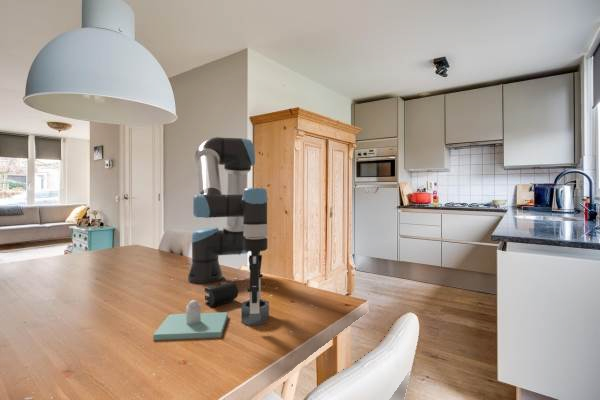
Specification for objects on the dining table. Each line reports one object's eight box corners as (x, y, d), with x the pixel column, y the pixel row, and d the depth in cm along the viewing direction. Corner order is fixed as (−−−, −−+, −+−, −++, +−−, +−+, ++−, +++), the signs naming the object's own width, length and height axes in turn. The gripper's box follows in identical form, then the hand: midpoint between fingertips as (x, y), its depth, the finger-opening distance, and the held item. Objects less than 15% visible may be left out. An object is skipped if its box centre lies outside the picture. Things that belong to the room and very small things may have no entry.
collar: (243, 314, 102) (243, 299, 101) (269, 313, 102) (268, 298, 102) (240, 325, 93) (240, 309, 93) (268, 324, 94) (268, 308, 94)
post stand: (169, 319, 98) (169, 293, 98) (227, 316, 100) (227, 291, 100) (153, 340, 84) (152, 310, 84) (220, 337, 86) (220, 308, 86)
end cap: (214, 309, 106) (214, 290, 106) (203, 304, 111) (203, 285, 111) (238, 301, 114) (238, 283, 114) (227, 297, 119) (227, 279, 118)
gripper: (246, 232, 109) (246, 293, 109) (239, 243, 84) (239, 321, 85) (267, 232, 110) (267, 292, 110) (267, 243, 85) (267, 320, 85)
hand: (255, 305), depth 97 cm, fingers open, 13 cm apart
